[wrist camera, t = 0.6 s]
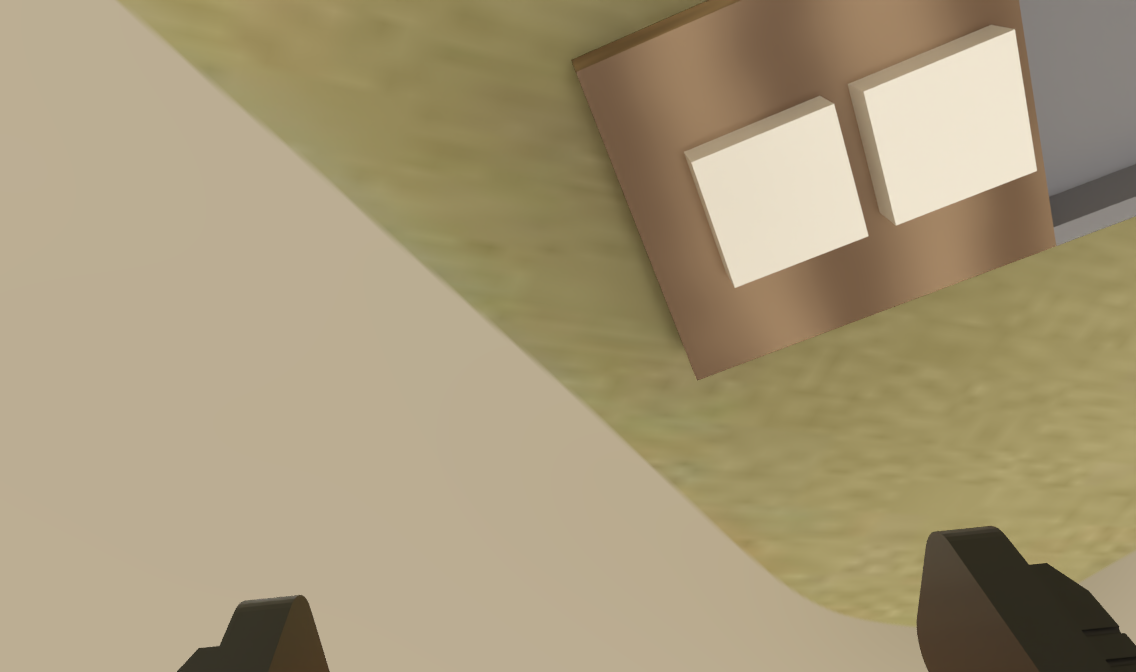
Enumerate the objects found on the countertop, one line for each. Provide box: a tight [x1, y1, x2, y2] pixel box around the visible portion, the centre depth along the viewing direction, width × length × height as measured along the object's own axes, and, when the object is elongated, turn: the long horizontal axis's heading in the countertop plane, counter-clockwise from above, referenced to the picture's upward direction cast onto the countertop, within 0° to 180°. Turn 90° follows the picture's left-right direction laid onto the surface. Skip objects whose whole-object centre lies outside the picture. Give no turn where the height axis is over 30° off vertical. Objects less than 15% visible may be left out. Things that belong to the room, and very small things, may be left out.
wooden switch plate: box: [572, 0, 1056, 380], centre depth 31 cm, size 14×13×3 cm
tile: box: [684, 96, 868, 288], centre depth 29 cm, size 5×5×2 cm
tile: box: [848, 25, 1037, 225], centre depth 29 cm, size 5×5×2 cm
